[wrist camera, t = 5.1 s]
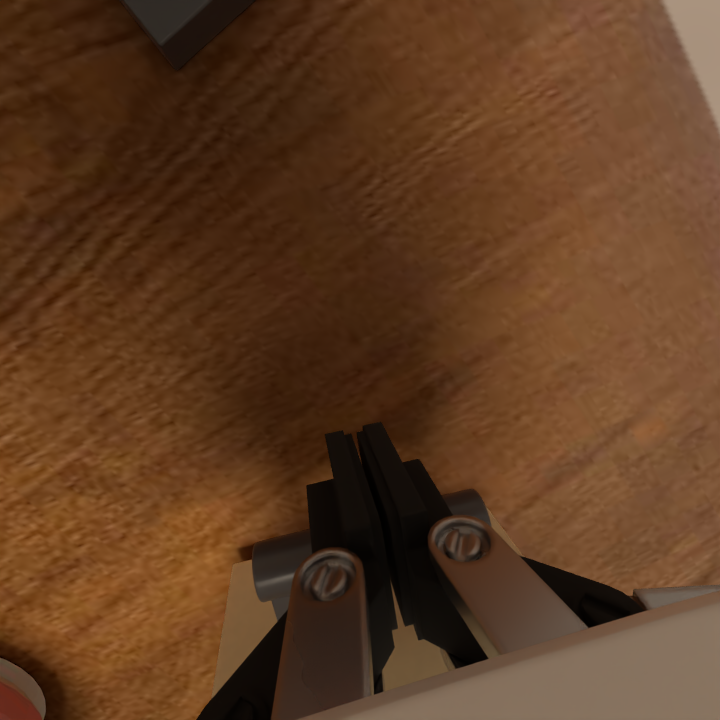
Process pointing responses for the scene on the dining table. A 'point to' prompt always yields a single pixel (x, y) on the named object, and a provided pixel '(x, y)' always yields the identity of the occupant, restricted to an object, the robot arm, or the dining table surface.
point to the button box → (183, 23)
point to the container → (19, 694)
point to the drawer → (272, 593)
